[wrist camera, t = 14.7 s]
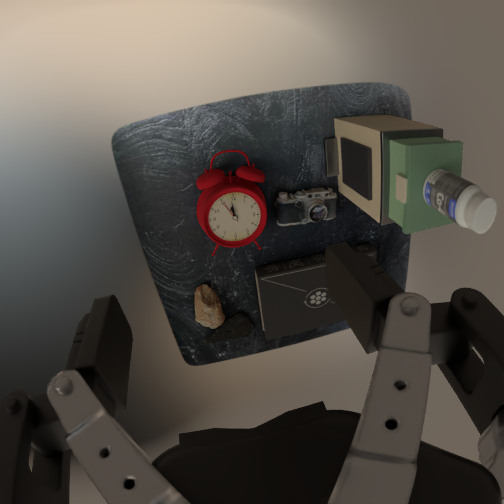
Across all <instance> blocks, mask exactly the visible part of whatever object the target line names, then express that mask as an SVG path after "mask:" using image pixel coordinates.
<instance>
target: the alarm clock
mask: <svg viewBox="0 0 504 504" xmlns="http://www.w3.org/2000/svg"><path fill="white" fill-rule="evenodd" d="M225 152H239V153H242V154H243V155H244V156H245V157H246V159H247V162H248V165H249V166H240V167H238V168H237V170H236V175H238V176H231V174H232V171H230V172H228V174H229V175H230V176H225V174H224V172H223V171H222V170H221V169H212V163H213V160H214V158H215V157H216V156H217V155H219V154H221V153H225ZM254 166H255V164H253V166H250V162H249V159H248V157H247V155H246V154H245V153H243V152H242V151H239V150H226V151H221V152H219V153H217V154H215V155H214V156H213V158H212V160H211V164H210V170H209V171H207V169H205V173H203V174H202V175H201V176H200V177H199V178H198V179H197V181H196V185H197V187H198V189H200V190H202V189H204V190H203V192H202V193H201V195H200V197H199V200H198V203H197V217H198V221H199V223H200V225H201V227H202V228H203V230H204V231H205V232H206V234H207V235H208V236H209V238H211V239H212V240H213V241H214V242H216V243H217V246H216V248H215V250H214V252H213V253H212V255H213V256H214V255H215V254H214V253H215V251H216V250H217V248H218V246H219V245H222V246H225V247H240V246H244V245H247V244H249V243H251V242H252V241H254V242H255V244H256V245H257V246H258V249H259V250H260V249H261V247H259V245H258V243H257V242H256V240H255V239H256V238H257V237H258V236H259V235H260V234H261V232H262V231H263V229H264V227H265V224H266V220H267V209H266V201H265V197H264V195H263V193H262V191H261V190H260V188H259V187H258V186H257V185H256V184H255V183H254V182H252V181H255V182H261V183H262V182H264V181H265V174H264V173H263V172H262V171H261V170H259V169H257V168H254Z"/></svg>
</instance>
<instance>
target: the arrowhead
mask: <svg viewBox="0 0 504 504" xmlns="http://www.w3.org/2000/svg"><path fill="white" fill-rule="evenodd" d="M253 328H254V326H253V325H252V323H251V322H250V320H249V318H248V317H247V316H246V315H243V314H241V313H240V314H237V315H235V316H233V317H232V318H230V319H229V320H228V321H226V322H225V323H223V324H222V325H221V326H220V327H219V328H217V330H216V331H214V333H212V334H211V335H210V336H209V338H208V339H207V340H205V341H204V343H215V342H222V341H226V340H232V339H236V338H240V337H244V336H248V335H249V334H250V332H251V330H252V329H253Z"/></svg>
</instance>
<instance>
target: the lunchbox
mask: <svg viewBox="0 0 504 504" xmlns="http://www.w3.org/2000/svg"><path fill="white" fill-rule="evenodd" d="M462 150H463V142H461V141H449V140H446V139H443V138H440V137H424V138H409V139H395V140H390V196H389V218H391V219H392V220H393V221H395V222H396V223H397V224H399V225H400V226H401V227H402V232H403V233H405V234H410V233H414V232H418V231H422V230H426V229H430V228H434V227H438V226H442V225H446V224H449V223H453V222H454V221H452V220H451V219H449V218H448V217H446V216H445V215H443V214H442V213H440V212H439V211H437V210H436V209H434V208H432V207H431V206H429V205H428V204H427V203H426V201H425V199H424V196H423V186H424V183H425V180H426V178H427V177H428V175H429V174H430V173H431V172H432V171H434V170H436V169H444V170H447V171H449V172H451V173H453V174H455V175H457V176H459V177H461V167H462Z"/></svg>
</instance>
